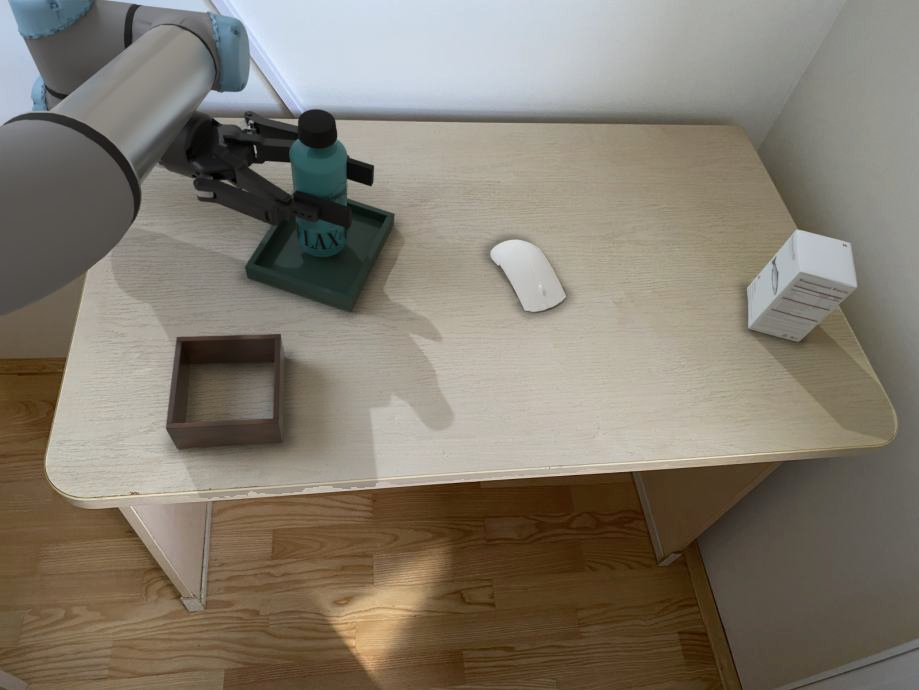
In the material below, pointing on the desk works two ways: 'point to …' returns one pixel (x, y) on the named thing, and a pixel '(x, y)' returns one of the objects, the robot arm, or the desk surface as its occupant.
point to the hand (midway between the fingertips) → (361, 196)
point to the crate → (218, 353)
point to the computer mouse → (529, 274)
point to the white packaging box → (801, 285)
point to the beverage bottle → (319, 179)
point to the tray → (323, 259)
